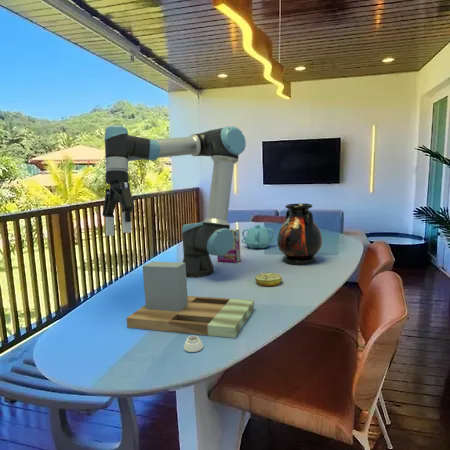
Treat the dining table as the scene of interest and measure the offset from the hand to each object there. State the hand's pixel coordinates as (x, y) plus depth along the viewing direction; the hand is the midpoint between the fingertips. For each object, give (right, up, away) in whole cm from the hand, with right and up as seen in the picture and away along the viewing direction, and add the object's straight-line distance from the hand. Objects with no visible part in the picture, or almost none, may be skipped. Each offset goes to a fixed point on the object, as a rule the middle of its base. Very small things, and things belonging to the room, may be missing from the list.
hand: (118, 234), depth 124 cm
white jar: (+28, -29, -28) cm, 49 cm away
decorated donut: (+53, -21, +25) cm, 63 cm away
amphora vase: (+73, -15, +59) cm, 95 cm away
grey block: (+17, -23, -5) cm, 29 cm away
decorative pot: (+56, -10, +96) cm, 112 cm away
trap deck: (+26, -26, -7) cm, 38 cm away
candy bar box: (+38, -16, +65) cm, 77 cm away
